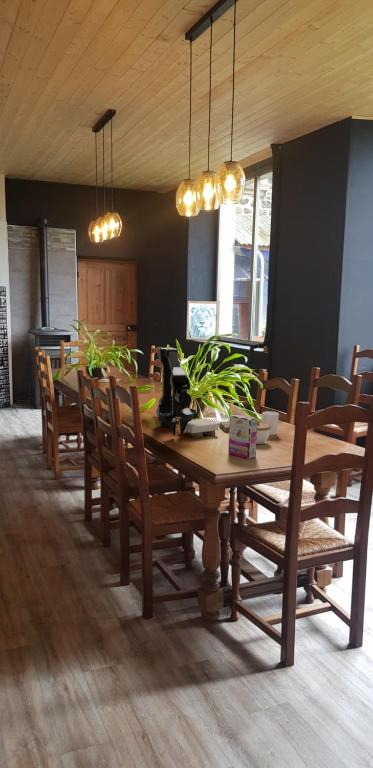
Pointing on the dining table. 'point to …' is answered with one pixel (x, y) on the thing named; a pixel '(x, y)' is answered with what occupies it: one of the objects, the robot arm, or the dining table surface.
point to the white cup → (271, 421)
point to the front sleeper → (196, 434)
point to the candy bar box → (242, 436)
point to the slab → (200, 426)
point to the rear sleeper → (209, 433)
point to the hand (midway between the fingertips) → (178, 435)
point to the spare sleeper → (224, 426)
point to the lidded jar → (262, 432)
